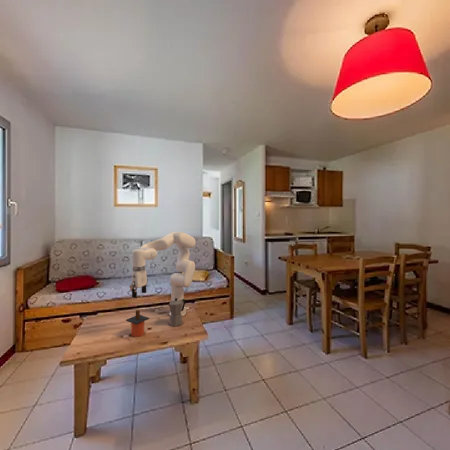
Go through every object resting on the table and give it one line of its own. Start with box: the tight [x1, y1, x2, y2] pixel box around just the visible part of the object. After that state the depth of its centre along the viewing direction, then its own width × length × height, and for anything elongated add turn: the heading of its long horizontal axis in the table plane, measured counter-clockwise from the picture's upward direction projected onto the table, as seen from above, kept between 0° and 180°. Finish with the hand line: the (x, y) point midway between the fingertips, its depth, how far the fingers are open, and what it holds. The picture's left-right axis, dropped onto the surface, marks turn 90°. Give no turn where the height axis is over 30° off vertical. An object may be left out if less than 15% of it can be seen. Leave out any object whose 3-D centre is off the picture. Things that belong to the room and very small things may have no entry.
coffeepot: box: [168, 298, 186, 327], centre depth 171 cm, size 15×9×18 cm, turn 144°
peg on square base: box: [125, 309, 150, 324], centre depth 154 cm, size 10×10×6 cm
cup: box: [130, 321, 145, 338], centre depth 154 cm, size 8×8×9 cm
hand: (139, 295), depth 156 cm, fingers open, 9 cm apart
